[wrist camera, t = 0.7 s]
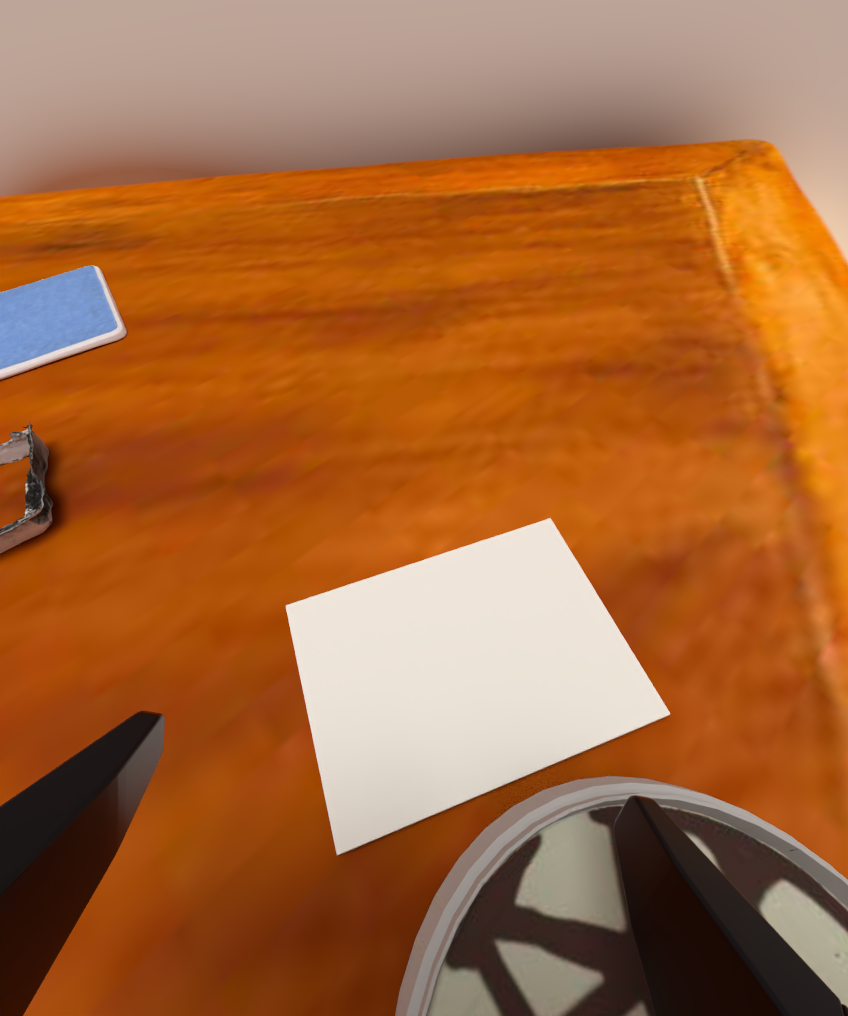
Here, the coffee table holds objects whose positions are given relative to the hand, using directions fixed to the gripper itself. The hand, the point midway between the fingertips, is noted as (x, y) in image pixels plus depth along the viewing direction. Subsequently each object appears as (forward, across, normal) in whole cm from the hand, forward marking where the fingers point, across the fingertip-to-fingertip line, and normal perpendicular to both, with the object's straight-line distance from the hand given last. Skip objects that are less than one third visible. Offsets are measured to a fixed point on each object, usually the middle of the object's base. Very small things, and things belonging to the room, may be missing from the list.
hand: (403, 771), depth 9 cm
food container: (+5, -8, +11) cm, 15 cm away
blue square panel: (+36, +35, +3) cm, 50 cm away
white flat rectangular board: (+12, -4, +7) cm, 15 cm away
